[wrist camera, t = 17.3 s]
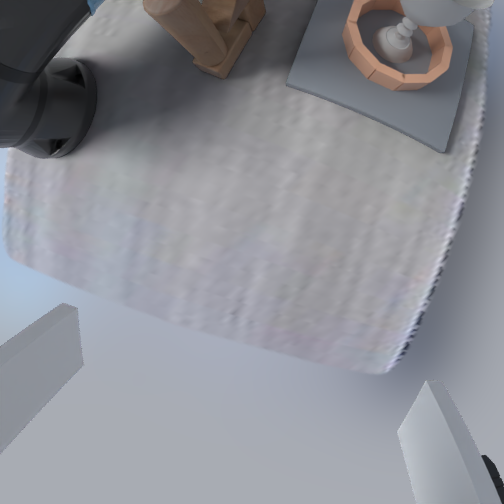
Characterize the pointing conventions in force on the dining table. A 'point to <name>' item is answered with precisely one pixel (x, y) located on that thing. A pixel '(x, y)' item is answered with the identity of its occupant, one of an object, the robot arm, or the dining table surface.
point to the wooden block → (209, 28)
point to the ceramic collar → (381, 72)
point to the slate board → (372, 94)
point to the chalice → (421, 24)
